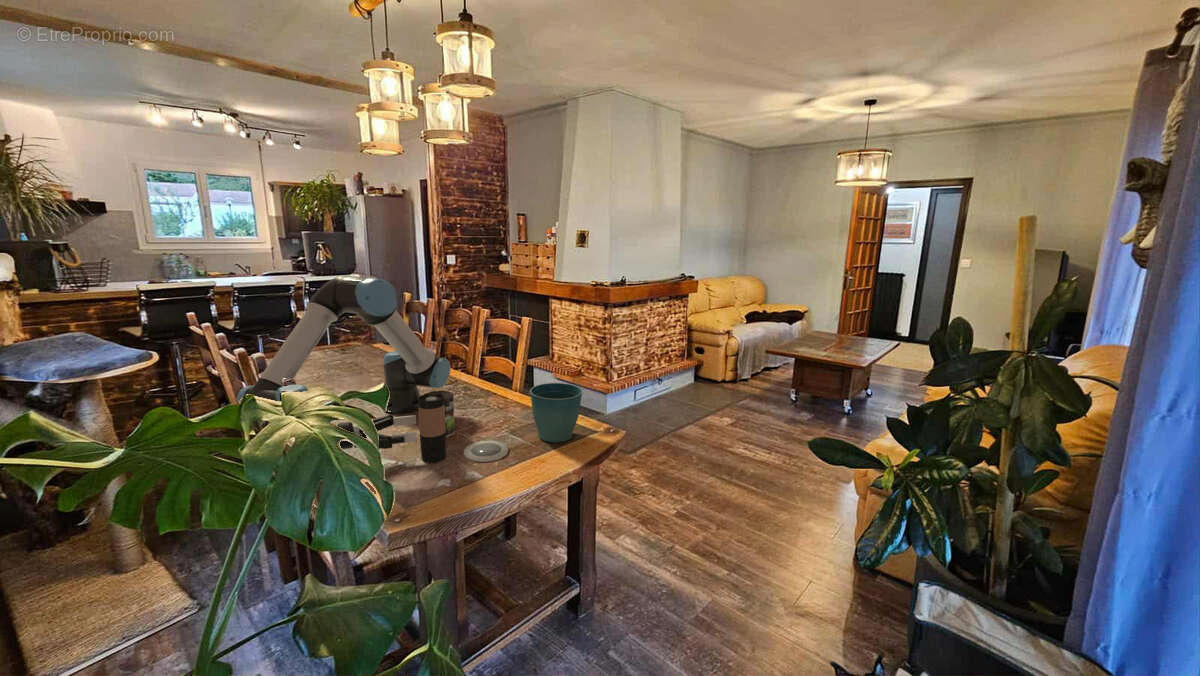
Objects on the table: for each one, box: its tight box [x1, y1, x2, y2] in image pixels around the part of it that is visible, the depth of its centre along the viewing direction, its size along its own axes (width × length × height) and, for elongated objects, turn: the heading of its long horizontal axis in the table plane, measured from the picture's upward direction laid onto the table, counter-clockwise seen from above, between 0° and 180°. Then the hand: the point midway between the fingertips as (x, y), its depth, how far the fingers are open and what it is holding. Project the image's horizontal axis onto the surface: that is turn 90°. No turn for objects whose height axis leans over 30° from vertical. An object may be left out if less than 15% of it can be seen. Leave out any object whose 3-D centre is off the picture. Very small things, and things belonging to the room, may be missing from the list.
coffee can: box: [423, 390, 456, 438], centre depth 165 cm, size 10×10×14 cm
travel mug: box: [418, 393, 447, 464], centre depth 146 cm, size 8×8×20 cm
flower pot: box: [529, 382, 583, 443], centre depth 166 cm, size 18×18×17 cm
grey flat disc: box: [463, 440, 509, 463], centre depth 153 cm, size 14×14×1 cm
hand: (416, 427), depth 144 cm, fingers open, 13 cm apart
